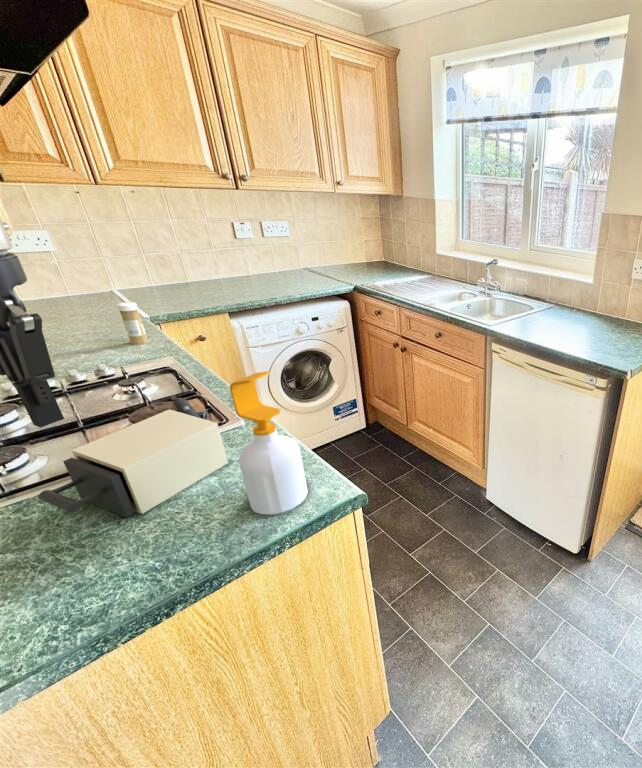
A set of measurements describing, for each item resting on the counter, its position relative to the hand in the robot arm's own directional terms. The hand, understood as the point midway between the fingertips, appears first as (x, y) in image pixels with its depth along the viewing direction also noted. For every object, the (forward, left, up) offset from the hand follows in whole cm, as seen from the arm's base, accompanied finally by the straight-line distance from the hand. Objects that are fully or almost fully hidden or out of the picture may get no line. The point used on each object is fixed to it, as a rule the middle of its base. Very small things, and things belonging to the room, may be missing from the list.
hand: (49, 421), depth 60 cm
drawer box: (-6, +9, -18) cm, 21 cm away
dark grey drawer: (-3, +5, -17) cm, 18 cm away
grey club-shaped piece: (-26, +15, -19) cm, 35 cm away
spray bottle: (+12, +24, -18) cm, 33 cm away
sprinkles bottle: (-93, +9, -18) cm, 95 cm away
